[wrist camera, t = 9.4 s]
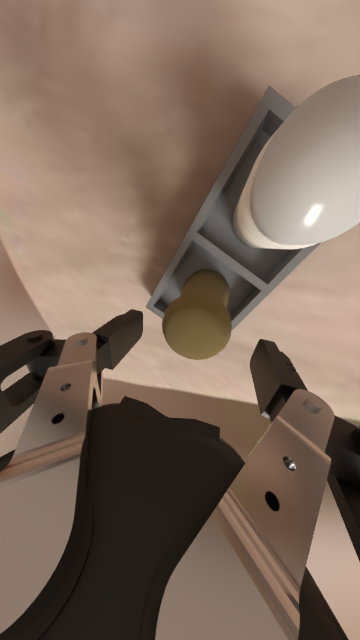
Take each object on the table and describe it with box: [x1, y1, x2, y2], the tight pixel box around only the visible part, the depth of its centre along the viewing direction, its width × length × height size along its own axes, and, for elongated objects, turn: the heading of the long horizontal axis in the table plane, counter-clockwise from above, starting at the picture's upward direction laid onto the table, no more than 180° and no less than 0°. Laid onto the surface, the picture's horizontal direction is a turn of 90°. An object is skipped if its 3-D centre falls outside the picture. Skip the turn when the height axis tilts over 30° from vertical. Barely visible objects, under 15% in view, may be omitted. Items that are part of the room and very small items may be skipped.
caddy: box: [146, 86, 321, 331], centre depth 17 cm, size 20×11×3 cm, turn 148°
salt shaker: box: [233, 75, 360, 249], centre depth 11 cm, size 6×6×10 cm
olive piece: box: [162, 269, 232, 360], centre depth 15 cm, size 6×6×11 cm
